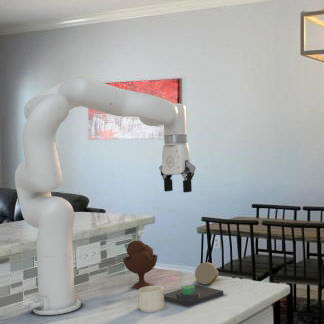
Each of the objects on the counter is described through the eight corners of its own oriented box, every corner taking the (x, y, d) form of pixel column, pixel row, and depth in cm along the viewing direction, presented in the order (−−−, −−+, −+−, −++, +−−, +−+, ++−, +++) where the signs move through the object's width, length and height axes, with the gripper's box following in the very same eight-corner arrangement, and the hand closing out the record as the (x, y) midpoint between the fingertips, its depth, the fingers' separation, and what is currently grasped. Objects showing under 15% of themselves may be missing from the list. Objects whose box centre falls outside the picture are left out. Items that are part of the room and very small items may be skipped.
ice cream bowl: (152, 291, 168) (150, 243, 167) (118, 290, 170) (116, 243, 169) (164, 282, 178) (162, 237, 178) (132, 282, 180) (130, 237, 180)
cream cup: (149, 314, 145) (148, 293, 145) (134, 309, 149) (133, 289, 149) (169, 307, 150) (168, 288, 150) (154, 303, 154) (153, 284, 154)
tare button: (187, 296, 151) (187, 289, 151) (179, 294, 153) (179, 287, 153) (197, 293, 154) (197, 286, 154) (188, 291, 156) (188, 284, 156)
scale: (187, 308, 149) (187, 297, 149) (158, 300, 158) (158, 290, 157) (225, 295, 160) (225, 285, 160) (196, 289, 168) (195, 279, 168)
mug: (224, 278, 181) (224, 256, 176) (212, 298, 173) (212, 275, 168) (203, 272, 183) (203, 249, 178) (190, 291, 176) (190, 268, 170)
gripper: (150, 141, 185) (152, 191, 185) (184, 140, 173) (186, 193, 174) (167, 141, 190) (169, 189, 191) (201, 139, 179) (203, 191, 179)
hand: (177, 191), depth 182 cm, fingers open, 9 cm apart
